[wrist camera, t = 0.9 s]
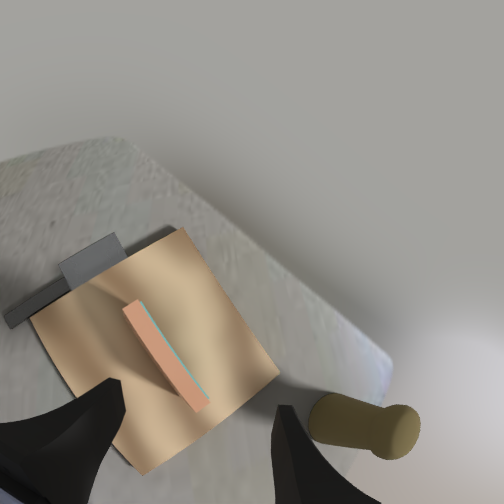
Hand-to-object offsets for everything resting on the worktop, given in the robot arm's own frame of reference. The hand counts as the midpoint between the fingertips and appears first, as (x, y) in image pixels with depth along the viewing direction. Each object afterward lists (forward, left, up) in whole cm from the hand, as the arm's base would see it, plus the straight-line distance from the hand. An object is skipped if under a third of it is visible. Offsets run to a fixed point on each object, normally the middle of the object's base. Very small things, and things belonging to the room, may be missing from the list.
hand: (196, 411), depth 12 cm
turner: (-2, +11, -13) cm, 17 cm away
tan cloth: (+1, +2, -13) cm, 13 cm away
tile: (+1, +2, -12) cm, 12 cm away
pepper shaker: (+11, -15, -13) cm, 22 cm away
